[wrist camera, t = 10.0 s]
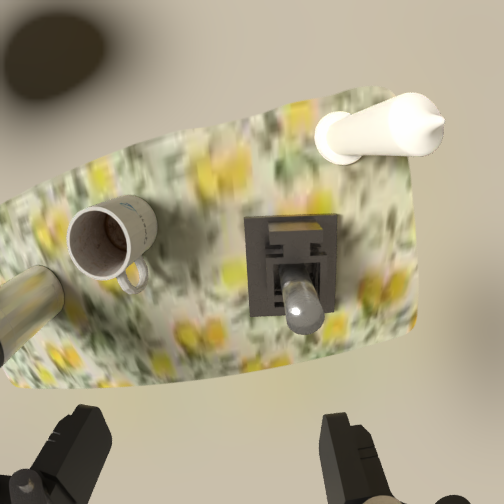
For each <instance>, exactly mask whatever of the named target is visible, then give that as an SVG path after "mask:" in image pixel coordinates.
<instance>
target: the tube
mask: <svg viewBox="0 0 504 504" xmlns="http://www.w3.org/2000/svg"><path fill="white" fill-rule="evenodd" d="M278 270H279V276H280V283H281V289H282V295H283V301H284V307H285V314H286V320H287V324H288V326H289V328H290V329H291V330H292V331H293V332H295V333H297V334H301V335H307V334H311V333H314V332H315V331H317V330H318V329H319V328H320V327H321V326H322V324H323V322H324V318H325V315H324V311H323V308H322V306H321V303H320V301H319V298H318V296H317V293H316V291H315V288H314V286H313V283H312V281H311V278H310V276H309V274H308V271H307V269H306V266H305V264H304V263H296V264H279V267H278Z"/></svg>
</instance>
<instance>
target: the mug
mask: <svg viewBox="0 0 504 504" xmlns="http://www.w3.org/2000/svg"><path fill="white" fill-rule="evenodd" d="M157 227H158V226H157V219H156V216H155V213H154V211H153V210H152V208H151V207H150V205H149V204H148V203H147V202H145V201H144V200H143V199H141V198H139V197H137V196H133V195H123V196H120V197H117V198H114V199H111V200H108V201H105V202H102V203H99V204H96V205H93V206H90V207H87V208H85V209H82V210H81V211H79V212H78V213H77V214H76V215H75V216H74V217H73V218H72V220H71V222H70V224H69V227H68V230H67V247H68V251H69V254H70V257H71V259H72V260H73V262H74V264H75V265H76V266H77V268H78V269H79V270H80V271H81V272H82V273H84V274H85V275H87V276H88V277H91V278H93V279H97V280H109V279H113V278H115V277H116V278H117V280H118V283H119V284H120V286H121V288H122V289H123V290H124V291H125V292H127V293H128V294H138V293H139V292H141V291H142V290H144V288H145V287H146V285H147V282H148V268H147V265H146V263H145V261H144V259H143V257H142V254H143V253H144V252H145V251H146V250H147V249H149V248H150V247H151V245H152V244H153V242H154V240H155V238H156V235H157ZM133 262H135V264H136V266H137V268H138V271H139V279H140V280H139V283H138V285H137V286H136V287H134V286H133V285H131V283H130V281H129V280H128V278H127V275H126V272H125V270H126V268H127V267H128V266H129V265H131V264H132V263H133Z"/></svg>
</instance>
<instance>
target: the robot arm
mask: <svg viewBox="0 0 504 504" xmlns="http://www.w3.org/2000/svg"><path fill="white" fill-rule="evenodd" d="M63 304H64V293H63V289H62V286H61V284H60V282H59V280H58V279H57V277H56V276H55V275H54V274H53V273H52V272H51V271H50V270H49V269H48V268H46V267H43V266H40V265H36V266H33V267H31V268H29V269H27V270H25V271H24V272H22V273H20V274H19V275H17V276H15V277H14V278H12V279H10V280H9V281H7V282H6V283H4V284H2V285H1V286H0V367H2V366H3V365H4V364H5V363H6V362H7V361H8V360H9V359H10V358H11V357H12V356H13V355H14V354H15V353H16V352H17V351H18V350H19V349H20V348H21V347H22V346H23V345H24V344H25V343H26V342H27V341H28V340H29V339H30V338H32V337H33V336H34V335H35V334H36V333H37V332H38V331H39V330H40V329H41V328H42V327H43V326H45V325H46V324H47V323H48V322H49V321H50V320H51V319H52V318H53V317H55V316H56V315H57V314H58V313H59V312H60V311H61V310H62V307H63ZM111 446H112V436H111V433H110V430H109V428H108V426H107V424H106V422H105V419H104V417H103V415H102V412H101V410H100V409H99V408H98V407H94V406H88V405H83V404H80V405H78V406H77V407H76V409H75V411H74V412H73V414H72V415H67V416H66V417H64V418H63V419H62V420H61V421H59V422H58V424H57V425H56V427H55V429H54V430H53V433H52V434H51V435H50V437H49V438H48V441H46V443H45V445H44V446H43V448H42V450H41V451H40V453H39V455H38V456H37V458H36V460H35V462H34V463H33V465H32V466H31V468H30V469H21V470H18V471H16V472H15V473H14V474H13V475H12V476H7V475H0V504H88V501H89V499H90V497H91V494H92V492H93V489H94V487H95V484H96V482H97V480H98V477H99V475H100V472H101V470H102V468H103V465H104V463H105V461H106V458H107V456H108V454H109V451H110V449H111ZM319 455H320V461H321V467H322V472H323V478H324V483H325V489H326V495H327V500H328V504H405V503H402V502H400V501H399V500H397V499H396V498H395V497H394V496H393V495H392V493H391V491H390V489H389V486H388V483H387V480H386V477H385V474H384V472H383V468H382V465H381V462H380V459H379V458H378V454H377V452H376V448H375V445H374V443H373V440H372V437H371V434H370V433H369V432H368V431H367V430H366V429H365V428H364V427H363V426H362V425H354V426H350V423H349V420H348V417H347V414H346V413H345V412H343V413H334V414H325V415H323V420H322V427H321V433H320V440H319ZM435 504H470V502H469V501H468V500H467V499H465V498H464V497H462V496H458V495H449V496H445V497H443V498H441V499H440V500H438V501H437V502H436V503H435Z"/></svg>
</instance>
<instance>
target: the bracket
mask: <svg viewBox="0 0 504 504" xmlns="http://www.w3.org/2000/svg"><path fill="white" fill-rule="evenodd" d="M244 225H245V242H246V259H247V275H248V292H249V308H250V317H258V316H281V315H286V314H285V307H284V301H283V295H282V289H281V283H280V276H279V270H278V267H279V264H296V263H304V264H305V266H306V269H307V271H308V274H309V276H310V278H311V281H312V283H313V286H314V288H315V291H316V293H317V296H318V298H319V301H320V303H321V306H322V308H323V311H324V313H331V312H334V303H335V282H336V250H337V215H336V214H304V215H277V216H254V217H244Z"/></svg>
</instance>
